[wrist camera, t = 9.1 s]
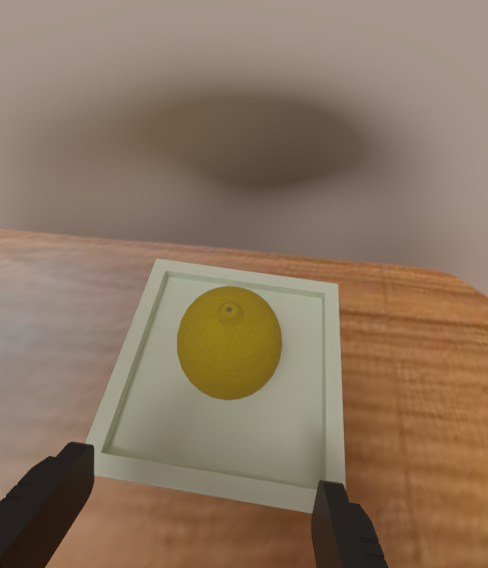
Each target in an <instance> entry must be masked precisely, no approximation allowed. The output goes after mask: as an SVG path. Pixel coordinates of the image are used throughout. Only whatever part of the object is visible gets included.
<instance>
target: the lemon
mask: <svg viewBox="0 0 488 568" xmlns="http://www.w3.org/2000/svg"><path fill="white" fill-rule="evenodd" d="M281 350H282V338H281V329H280V325H279V323H278V320H277V317H276V314H275V313H274V311H273V310H272V308H271V307H270V305H269V304H268V303H267V302H266V301H265V300H264V299H263V298H262V297H261V296H259V295H258V294H256V293H254V292H252V291H251V290H248V289H245V288H241V287H236V286H224V287H218V288H215V289H212V290H209V291H207V292H205V293H204V294H202V295H201V296H199V297H198V298H196V299H195V300H194V302H193V303H192V304H191V305H190V306H189V307H188V308H187V310H186V312H185V314H184V315H183V317H182V319H181V322H180V326H179V330H178V334H177V354H178V358H179V361H180V365H181V368H182V370H183V372H184V373H185V375H186V376H187V378H188V380H189V381H190V382H191V383H192V384H193V385H194V386H195V387H196V388H197V389H198V390H199V391H201V392H202V393H204V394H206V395H208V396H210V397H212V398H217V399H222V400H237V399H241V398H244V397H247V396H250V395H252V394H254V393H255V392H257V391H258V390H260V389H261V388H262V387H264V385H265V384H266V383H267V382H268V381H269V380H270V378H271V377H272V376H273V374H274V372H275V370H276V368H277V366H278V364H279V361H280V356H281Z"/></svg>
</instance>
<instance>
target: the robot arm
mask: <svg viewBox="0 0 488 568" xmlns="http://www.w3.org/2000/svg"><path fill="white" fill-rule="evenodd" d="M93 484H94V446H93V445H91V444H84V443H78V442H70V443H68V444H67V445H66V446H65V447H64V449H63V450H62V451H61V452H60V453H59V454H58V455H57V456H56V457H52V456H49V457H47V458H46V459H44V460H43V461H41V462H40V463H38V464H37V465H35V466H34V467H32V468H31V469H30V470H29V471H28V472H27V474H26V475H25V476H24V477H23V478H22V479H21V480H20V481H19V482H18V484H17V486H16V485H15V486H14V487H13V488H12V489H11V491H10V492H9V493H8V494H7V495H6V497H5V498H3V499H2V500H1V501H0V568H45V567H46V565H47V563H48V562H49V560H50V559H51V557H52V556H53V554H54V552H55V551H56V549H57V548H58V546H59V545H60V543H61V541H62V540H63V538H64V537H65V535H66V533H67V532H68V530H69V529H70V527H71V526H72V524H73V522H74V521H75V519H76V518H77V516H78V514H79V513H80V511H81V510H82V508H83V507H84V505H85V503H86V502H87V500H88V498H89V496H90V494H91V491H92V488H93ZM311 531H312V540H313V547H314V553H315V560H316V566H317V568H388V565H387V563H386V561H385V560H384V554H383V552H382V549H381V546H380V544H379V543H378V538H377V535H376V532H375V529H374V527H373V524H372V521H371V520H370V518H369V517H368V516H367V514H366V513H365V511H364V510H363V509H362V507H361V506H360V505H359V504H354V503H349V500H348V497H347V494H346V490H345V487H344V485H343V484H342V483H338V482H332V481H325V480H320V481H319V483H318V488H317V492H316V497H315V502H314V507H313V512H312V520H311Z"/></svg>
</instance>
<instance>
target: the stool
mask: <svg viewBox="0 0 488 568" xmlns="http://www.w3.org/2000/svg"><path fill="white" fill-rule="evenodd" d="M224 286H236V287H241V288H245V289H248V290H251V291H252V292H254V293H256V294H258V295H259V296H261V297H262V298H263V299H264V300H265V301H266V302H267V303H268V304H269V305H270V307H271V308H272V310H273V311H274V313H275V314H276V317H277V320H278V323H279V325H280V329H281V338H282V350H281V356H280V361H279V364H278V366H277V368H276V370H275V372H274V374H273V376H272V377H271V378H270V380H269V381H268V382H267V383H266V384H265V385H264V387H262V388H261V389H260V390H258V391H257V392H255V393H254V394H252V395H250V396H247V397H244V398H241V399H237V400H222V399H217V398H212V397H210V396H208V395H206V394H204V393H202V392H201V391H199V390H198V389H197V388H196V387H195V386H194V385H193V384H192V383H191V382H190V381H189V380H188V378H187V376H186V375H185V373H184V372H183V370H182V368H181V365H180V361H179V358H178V354H177V334H178V330H179V326H180V322H181V319H182V317H183V315H184V314H185V312H186V310H187V308H188V307H189V306H190V305H191V304H192V303H193V302H194V300H195V299H196V298H198V297H199V296H201V295H202V294H204V293H205V292H207V291H209V290H212V289H215V288H218V287H224ZM85 444H91V445H93V446H94V476H100V477H106V478H111V479H117V480H123V481H129V482H134V483H140V484H146V485H151V486H157V487H163V488H169V489H174V490H180V491H186V492H191V493H197V494H203V495H209V496H214V497H220V498H226V499H231V500H237V501H243V502H248V503H254V504H260V505H266V506H271V507H277V508H283V509H288V510H294V511H300V512H306V513H311V514H312V512H313V507H314V502H315V497H316V492H317V488H318V483H319V481H320V480H325V481H332V482H338V483H342V484H343V485H344V487H345V490H346V479H345V453H344V427H343V402H342V376H341V350H340V324H339V298H338V284H335V283H327V282H320V281H313V280H306V279H299V278H292V277H285V276H278V275H271V274H263V273H256V272H249V271H242V270H235V269H228V268H221V267H214V266H207V265H200V264H192V263H185V262H178V261H171V260H164V259H157V258H156V261H155V264H154V266H153V269H152V271H151V274H150V277H149V279H148V282H147V284H146V287H145V289H144V292H143V295H142V297H141V300H140V302H139V305H138V308H137V310H136V313H135V315H134V318H133V320H132V323H131V326H130V328H129V331H128V333H127V336H126V338H125V341H124V344H123V346H122V349H121V351H120V354H119V357H118V359H117V362H116V364H115V367H114V369H113V372H112V375H111V377H110V380H109V382H108V385H107V388H106V390H105V393H104V395H103V398H102V400H101V403H100V406H99V408H98V411H97V413H96V416H95V418H94V421H93V424H92V426H91V429H90V431H89V434H88V437H87V439H86V442H85Z"/></svg>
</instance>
